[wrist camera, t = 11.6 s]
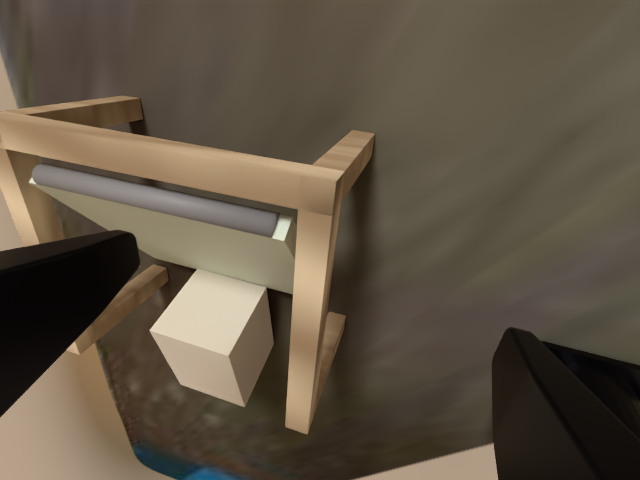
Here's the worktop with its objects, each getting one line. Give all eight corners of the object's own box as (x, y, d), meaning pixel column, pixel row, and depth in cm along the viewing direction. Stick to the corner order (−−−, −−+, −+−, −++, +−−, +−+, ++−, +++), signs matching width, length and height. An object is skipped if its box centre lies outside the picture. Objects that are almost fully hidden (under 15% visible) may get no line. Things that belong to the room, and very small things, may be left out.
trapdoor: (31, 156, 15) (17, 176, 15) (289, 210, 13) (281, 235, 12) (161, 245, 25) (155, 258, 24) (322, 285, 22) (318, 301, 22)
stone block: (228, 356, 19) (244, 407, 24) (266, 287, 22) (273, 343, 27) (149, 330, 20) (180, 384, 25) (197, 268, 23) (216, 326, 28)
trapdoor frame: (122, 95, 21) (-28, 114, 14) (375, 133, 18) (336, 182, 11) (155, 276, 28) (63, 349, 21) (344, 328, 24) (307, 434, 17)
